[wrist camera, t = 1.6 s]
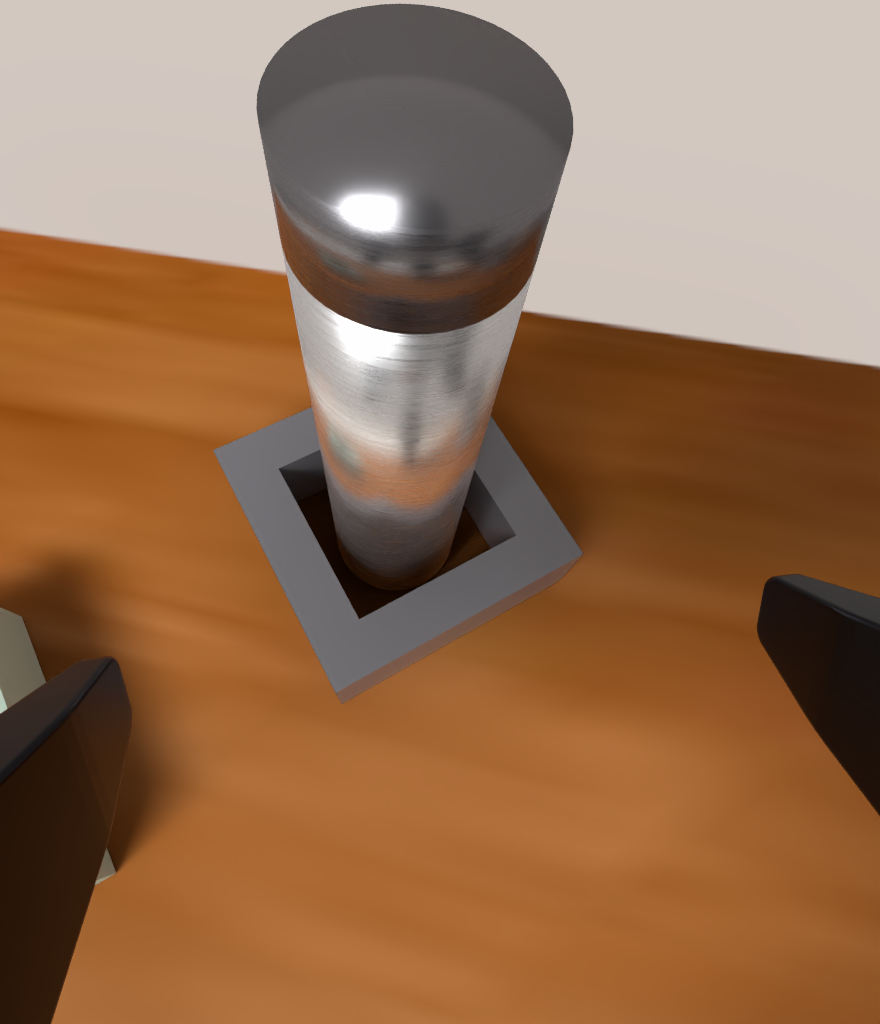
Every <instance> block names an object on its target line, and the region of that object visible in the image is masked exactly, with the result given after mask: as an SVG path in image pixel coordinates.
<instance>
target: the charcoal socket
mask: <svg viewBox="0 0 880 1024" xmlns="http://www.w3.org/2000/svg"><path fill="white" fill-rule="evenodd" d="M213 451H214V453H215V455H216V457H217V459H218V461H219V463H220V465H221V467H222V469H223V471H224V473H225V475H226V477H227V479H228V481H229V483H230V485H231V487H232V489H233V491H234V493H235V495H236V497H237V499H238V501H239V503H240V505H241V507H242V509H243V510H244V512H245V514H246V516H247V518H248V520H249V522H250V524H251V526H252V528H253V530H254V532H255V534H256V536H257V538H258V540H259V542H260V544H261V546H262V548H263V550H264V552H265V554H266V556H267V558H268V560H269V562H270V564H271V566H272V568H273V570H274V572H275V574H276V576H277V578H278V580H279V582H280V584H281V586H282V588H283V590H284V592H285V594H286V596H287V598H288V600H289V602H290V603H291V605H292V607H293V609H294V611H295V613H296V615H297V617H298V619H299V621H300V623H301V625H302V627H303V629H304V631H305V633H306V635H307V637H308V639H309V641H310V643H311V645H312V647H313V649H314V651H315V653H316V655H317V657H318V659H319V661H320V663H321V665H322V667H323V669H324V671H325V673H326V675H327V677H328V679H329V681H330V683H331V685H332V687H333V689H334V691H335V693H336V694H337V696H338V698H339V700H340V702H341V703H342V704H343V703H345V702H346V701H348V700H350V699H352V698H354V697H355V696H357V695H359V694H361V693H362V692H364V691H366V690H368V689H369V688H371V687H373V686H375V685H376V684H378V683H380V682H382V681H383V680H385V679H387V678H389V677H391V676H392V675H394V674H396V673H398V672H399V671H401V670H403V669H405V668H406V667H408V666H410V665H412V664H413V663H415V662H417V661H419V660H421V659H422V658H424V657H426V656H428V655H429V654H431V653H433V652H435V651H436V650H438V649H440V648H442V647H443V646H445V645H447V644H449V643H450V642H452V641H454V640H456V639H458V638H459V637H461V636H463V635H465V634H466V633H468V632H470V631H472V630H473V629H475V628H477V627H479V626H480V625H482V624H484V623H486V622H488V621H489V620H491V619H493V618H495V617H496V616H498V615H500V614H502V613H503V612H505V611H507V610H509V609H510V608H512V607H514V606H516V605H517V604H519V603H521V602H523V601H525V600H526V599H528V598H530V597H532V596H533V595H535V594H537V593H539V592H540V591H542V590H544V589H546V588H547V587H549V586H551V585H553V584H554V583H556V582H558V581H559V580H560V579H561V578H562V577H563V576H564V575H565V574H566V573H567V572H568V570H569V569H570V568H571V567H572V566H573V565H574V564H575V563H576V562H577V560H578V559H579V558H580V557H581V556H582V555H583V553H582V551H581V550H580V548H579V547H578V545H577V544H576V542H575V541H574V539H573V538H572V536H571V535H570V533H569V532H568V530H567V529H566V527H565V526H564V524H563V523H562V521H561V520H560V518H559V517H558V515H557V514H556V512H555V511H554V509H553V508H552V506H551V505H550V503H549V502H548V500H547V499H546V497H545V496H544V494H543V493H542V491H541V490H540V488H539V487H538V485H537V484H536V482H535V481H534V479H533V478H532V476H531V475H530V473H529V472H528V470H527V469H526V467H525V466H524V464H523V463H522V461H521V460H520V458H519V457H518V455H517V454H516V452H515V451H514V449H513V448H512V446H511V445H510V443H509V442H508V440H507V439H506V437H505V436H504V435H503V433H502V432H501V430H500V429H499V427H498V426H497V424H496V423H495V421H494V420H493V418H492V417H491V415H490V418H489V422H488V425H487V428H486V432H485V435H484V439H483V442H482V445H481V449H480V452H479V455H478V459H477V462H476V465H475V469H474V472H473V475H472V479H471V482H470V485H469V489H468V492H467V496H466V499H465V502H464V507H465V508H466V510H467V512H468V513H469V515H470V516H471V518H472V520H473V521H474V523H475V524H476V526H477V528H478V529H479V531H480V532H481V534H482V536H483V537H484V539H485V540H486V542H487V544H488V545H489V547H490V548H491V549H490V550H488V551H486V552H484V553H482V554H480V555H478V556H477V557H475V558H473V559H471V560H469V561H467V562H465V563H464V564H462V565H460V566H458V567H456V568H454V569H452V570H450V571H449V572H447V573H445V574H443V575H441V576H439V577H437V578H436V579H434V580H432V581H430V582H428V583H426V584H424V585H422V586H421V587H419V588H417V589H415V590H413V591H411V592H409V593H408V594H406V595H404V596H402V597H400V598H398V599H396V600H394V601H393V602H391V603H389V604H387V605H385V606H383V607H381V608H379V609H378V610H376V611H374V612H372V613H370V614H368V615H366V616H365V617H363V618H361V619H359V618H358V616H357V614H356V612H355V611H354V609H353V607H352V605H351V603H350V601H349V599H348V597H347V596H346V594H345V592H344V590H343V588H342V586H341V584H340V583H339V581H338V579H337V577H336V575H335V573H334V571H333V569H332V568H331V566H330V564H329V562H328V560H327V558H326V556H325V555H324V553H323V551H322V549H321V547H320V545H319V543H318V541H317V540H316V538H315V536H314V534H313V532H312V530H311V528H310V527H309V525H308V523H307V521H306V519H305V517H304V515H303V513H302V512H301V510H300V508H299V506H298V504H297V502H299V501H301V500H303V499H305V498H308V497H310V496H312V495H314V494H316V493H318V492H320V491H322V490H324V489H327V483H326V477H325V472H324V467H323V461H322V456H321V451H320V446H319V440H318V435H317V430H316V424H315V419H314V414H313V408H312V407H311V408H309V409H306V410H304V411H302V412H300V413H297V414H295V415H293V416H290V417H288V418H286V419H284V420H281V421H279V422H277V423H274V424H272V425H270V426H267V427H265V428H263V429H261V430H258V431H256V432H254V433H251V434H249V435H247V436H245V437H242V438H240V439H238V440H235V441H233V442H231V443H229V444H226V445H224V446H222V447H219V448H217V449H215V450H213Z"/></svg>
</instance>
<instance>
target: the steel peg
mask: <svg viewBox="0 0 880 1024" xmlns="http://www.w3.org/2000/svg"><path fill="white" fill-rule="evenodd" d="M257 115H258V122H259V128H260V133H261V139H262V143H263V149H264V154H265V160H266V165H267V170H268V176H269V181H270V186H271V192H272V197H273V202H274V207H275V213H276V218H277V223H278V229H279V234H280V239H281V244H282V249H283V255H284V260H285V265H286V271H287V276H288V281H289V287H290V292H291V297H292V303H293V308H294V313H295V319H296V324H297V329H298V334H299V340H300V345H301V350H302V356H303V361H304V366H305V371H306V377H307V382H308V387H309V393H310V398H311V403H312V408H313V414H314V419H315V424H316V430H317V435H318V440H319V446H320V451H321V456H322V461H323V467H324V472H325V477H326V483H327V488H328V493H329V498H330V504H331V509H332V514H333V520H334V525H335V530H336V536H337V541H338V546H339V550H340V553H341V556H342V558H343V560H344V562H345V564H346V565H347V567H348V568H349V569H350V570H351V572H352V573H353V574H354V575H356V576H357V577H358V578H359V579H361V580H362V581H364V582H365V583H367V584H369V585H371V586H374V587H377V588H380V589H385V590H405V589H410V588H413V587H416V586H418V585H421V584H423V583H425V582H426V581H428V580H429V579H431V578H432V577H433V576H434V575H435V574H436V573H437V572H438V571H439V570H440V569H441V568H442V566H443V565H444V563H445V561H446V559H447V558H448V555H449V552H450V549H451V546H452V542H453V539H454V536H455V532H456V529H457V526H458V522H459V519H460V516H461V512H462V509H463V506H464V502H465V499H466V496H467V492H468V489H469V485H470V482H471V479H472V475H473V472H474V469H475V465H476V462H477V459H478V455H479V452H480V449H481V445H482V442H483V439H484V435H485V432H486V428H487V425H488V422H489V418H490V415H491V412H492V408H493V405H494V402H495V398H496V395H497V392H498V388H499V385H500V382H501V378H502V375H503V372H504V368H505V365H506V361H507V358H508V355H509V351H510V348H511V345H512V341H513V338H514V335H515V331H516V328H517V325H518V321H519V318H520V315H521V311H522V308H523V305H524V301H525V298H526V294H527V291H528V287H529V284H530V281H531V278H532V274H533V271H534V268H535V264H536V261H537V258H538V254H539V251H540V248H541V244H542V241H543V237H544V234H545V230H546V227H547V224H548V221H549V217H550V214H551V211H552V207H553V204H554V201H555V197H556V194H557V191H558V187H559V184H560V180H561V177H562V174H563V170H564V167H565V164H566V160H567V157H568V154H569V150H570V147H571V142H572V136H573V116H572V111H571V105H570V102H569V99H568V97H567V94H566V91H565V89H564V87H563V86H562V84H561V82H560V80H559V78H558V77H557V76H556V74H555V73H554V71H553V70H552V69H551V67H550V66H549V65H548V64H547V63H546V62H545V60H544V59H543V58H542V57H540V55H538V53H537V52H535V51H534V50H533V49H532V48H530V47H529V46H528V45H527V44H526V43H524V42H523V41H521V40H520V39H518V38H517V37H515V36H514V35H512V34H511V33H509V32H507V31H506V30H504V29H502V28H500V27H498V26H496V25H494V24H492V23H489V22H487V21H485V20H482V19H479V18H477V17H474V16H471V15H468V14H465V13H462V12H458V11H454V10H449V9H445V8H440V7H434V6H425V5H414V4H413V5H412V4H384V5H375V6H367V7H361V8H357V9H352V10H348V11H344V12H341V13H338V14H335V15H332V16H329V17H327V18H325V19H323V20H320V21H318V22H316V23H314V24H312V25H310V26H308V27H307V28H305V29H303V30H302V31H300V32H299V33H297V34H296V35H295V36H293V37H292V38H291V39H290V40H289V41H287V42H286V43H285V44H284V45H283V46H282V47H281V48H280V49H279V51H278V52H277V53H276V54H275V55H274V57H273V58H272V60H271V61H270V63H269V64H268V65H267V67H266V69H265V72H264V74H263V76H262V78H261V81H260V85H259V89H258V94H257Z"/></svg>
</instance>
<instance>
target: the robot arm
mask: <svg viewBox="0 0 880 1024" xmlns="http://www.w3.org/2000/svg"><path fill="white" fill-rule="evenodd" d="M757 632H758V637H759V639H760V642H761V644H762V646H763V647H764V649H765V650H766V652H767V654H768V655H769V657H770V659H771V660H772V662H773V663H774V665H775V667H776V668H777V670H778V672H779V673H780V675H781V676H782V678H783V680H784V681H785V683H786V685H787V686H788V688H789V689H790V691H791V693H792V694H793V696H794V698H795V699H796V701H797V702H798V704H799V706H800V707H801V709H802V711H803V712H804V714H805V715H806V717H807V718H808V720H809V722H810V723H811V725H812V726H813V728H814V729H815V731H816V732H817V733H818V735H819V736H820V738H821V739H822V740H823V742H824V743H825V744H826V746H827V747H828V748H829V750H830V751H831V752H832V754H833V755H834V756H835V758H836V759H837V760H838V762H839V763H840V764H841V766H842V767H843V768H844V770H845V771H846V772H847V774H848V775H849V776H850V777H851V779H852V780H853V781H854V783H855V784H856V785H857V787H858V788H859V789H860V791H861V792H862V793H863V795H864V796H865V797H866V799H867V800H868V801H869V803H870V804H871V805H872V806H873V808H874V809H875V810H876V812H877V813H878V814H879V816H880V598H877V597H874V596H871V595H867V594H864V593H860V592H857V591H854V590H850V589H847V588H844V587H840V586H837V585H834V584H830V583H827V582H823V581H820V580H817V579H813V578H810V577H807V576H803V575H799V574H790V575H782V576H774V577H771V578H770V579H768V580H767V582H766V583H765V586H764V590H763V595H762V601H761V606H760V612H759V617H758V623H757ZM131 726H132V710H131V705H130V701H129V698H128V694H127V691H126V687H125V684H124V680H123V677H122V673H121V670H120V667H119V664H118V662H117V661H116V659H114V658H113V657H111V656H105V657H96V658H88V659H81V660H78V661H77V662H75V663H74V664H72V665H71V666H69V667H68V668H66V669H65V670H63V671H62V672H60V673H59V674H58V675H56V676H55V677H53V678H52V679H50V680H49V681H47V682H46V683H44V684H43V685H41V686H40V687H38V688H37V689H36V690H34V691H33V692H31V693H30V694H28V695H27V696H25V697H24V698H22V699H21V700H19V701H18V702H17V703H15V704H14V705H12V706H11V707H9V708H8V709H6V710H5V711H3V712H2V713H0V1024H51V1022H52V1019H53V1016H54V1013H55V1010H56V1007H57V1003H58V1000H59V997H60V994H61V991H62V988H63V985H64V981H65V978H66V975H67V972H68V969H69V966H70V962H71V959H72V956H73V953H74V950H75V947H76V943H77V940H78V937H79V934H80V931H81V928H82V924H83V921H84V918H85V915H86V912H87V909H88V905H89V902H90V899H91V896H92V893H93V890H94V886H95V883H96V880H97V877H98V874H99V871H100V868H101V864H102V861H103V858H104V855H105V851H106V848H107V844H108V841H109V837H110V833H111V829H112V824H113V820H114V815H115V810H116V804H117V799H118V794H119V789H120V784H121V778H122V773H123V768H124V763H125V758H126V752H127V747H128V742H129V737H130V732H131Z"/></svg>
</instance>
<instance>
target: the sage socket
mask: <svg viewBox="0 0 880 1024" xmlns="http://www.w3.org/2000/svg"><path fill="white" fill-rule="evenodd" d="M44 683H46V681H45V678H44V676H43V673H42V670H41V667H40V665H39V662H38V659H37V657H36V654H35V651H34V648H33V646H32V643H31V640H30V638H29V635H28V632H27V629H26V627H25V624H24V621H23V619H22V617H21V616H19V615H17V614H15V613H12V612H10V611H8V610H6V609H3V608H1V607H0V713H2V712H3V711H5V710H6V709H8V708H9V707H11V706H12V705H14V704H15V703H17V702H18V701H19V700H21V699H22V698H24V697H25V696H27V695H28V694H30V693H31V692H33V691H34V690H36V689H37V688H38V687H40V686H41V685H43V684H44ZM114 874H116V871H115V869H114V866H113V863H112V861H111V858H110V855H109V852H108V850H107V848H106V851H105V855H104V858H103V861H102V864H101V868H100V871H99V874H98V877H97V880H96V883H95V885H97V884H98V883H100V882H102V881H103V880H105V879H107V878H109V877H110V876H112V875H114Z"/></svg>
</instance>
